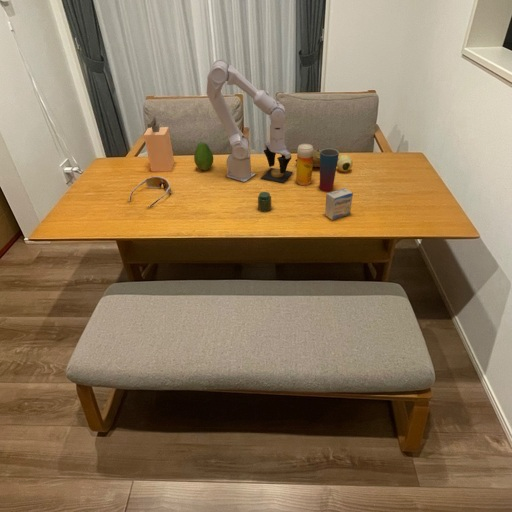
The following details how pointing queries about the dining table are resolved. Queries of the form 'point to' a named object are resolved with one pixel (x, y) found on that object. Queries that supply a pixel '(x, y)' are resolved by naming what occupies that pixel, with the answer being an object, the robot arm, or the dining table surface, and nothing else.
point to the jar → (264, 201)
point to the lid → (276, 173)
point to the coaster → (276, 179)
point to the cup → (328, 168)
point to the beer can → (304, 164)
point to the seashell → (315, 158)
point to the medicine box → (338, 203)
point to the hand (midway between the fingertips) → (277, 169)
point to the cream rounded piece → (344, 163)
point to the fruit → (203, 156)
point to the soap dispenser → (159, 147)
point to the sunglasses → (155, 185)
